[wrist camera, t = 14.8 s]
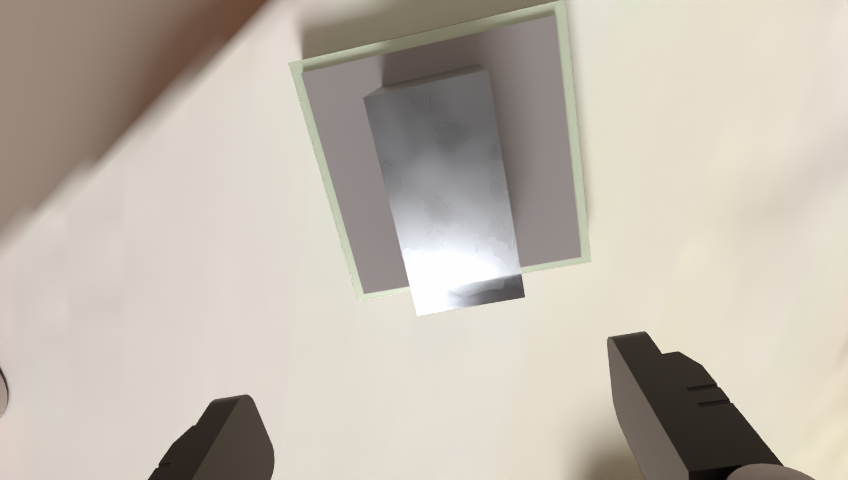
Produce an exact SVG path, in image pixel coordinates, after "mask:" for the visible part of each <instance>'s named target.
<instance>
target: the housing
mask: <svg viewBox="0 0 848 480" xmlns="http://www.w3.org/2000/svg"><path fill="white" fill-rule="evenodd" d="M363 100H364V104H365V108H366V112H367V116H368V120H369V124H370V128H371V132H372V136H373V140H374V144H375V148H376V152H377V156H378V160H379V164H380V168H381V172H382V176H383V180H384V184H385V188H386V192H387V196H388V200H389V204H390V208H391V212H392V216H393V220H394V224H395V228H396V232H397V236H398V239H399V243H400V247H401V251H402V255H403V259H404V263H405V267H406V271H407V275H408V279H409V283H410V287H411V291H412V295H413V299H414V303H415V307H416V311H417V315H422V314H428V313H434V312H440V311H446V310H452V309H458V308H464V307H470V306H476V305H482V304H488V303H494V302H500V301H506V300H512V299H518V298H524V297H525V294H524V288H523V282H522V276H521V270H520V263H519V257H518V251H517V245H516V239H515V232H514V226H513V220H512V214H511V208H510V201H509V195H508V189H507V183H506V176H505V170H504V164H503V158H502V152H501V145H500V139H499V133H498V127H497V121H496V114H495V108H494V102H493V96H492V90H491V83H490V77H489V71H488V69H487V68H485V67H483V66H481V65H480V64H478V65H473V66H469V67H464V68H460V69H455V70H451V71H447V72H442V73H438V74H433V75H429V76H424V77H420V78H415V79H411V80H407V81H402V82H398V83H393V84H389V85H384V86H381V87H379V88H378V89H376V90H375V91H373V92H371V93H370V94H368V95H366V96H365V97H363Z"/></svg>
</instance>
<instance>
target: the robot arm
mask: <svg viewBox="0 0 848 480" xmlns="http://www.w3.org/2000/svg"><path fill="white" fill-rule="evenodd" d="M607 348H608V358H609V367H610V377H611V387H612V396H613V403H614V407H615V411H616V415H617V418H618V421H619V424H620V426H621V429H622V431H623V433H624V435H625V437H626V439H627V442H628V444H629V446H630V448H631V450H632V452H633V454H634V457H635V459H636V461H637V463H638V465H639V467H640V469H641V472H642V474H643V476H644V478H645V480H815V479H813V478H812V477H810V476H808V475H806V474H804V473H802V472H799V471H797V470H794V469H791V468H788V467H784V466H783V464H782V463H781V462H780V461H779V460H778V458H777V457H776V456H775V455H774V453H773V452H772V451H771V450H770V449H769V447H768V446H767V445H766V444H765V442H764V441H763V440H762V439H761V437H760V436H759V435H758V434H757V433H756V431H755V430H754V429H753V428H752V426H751V425H750V424H749V423H748V421H747V420H746V419H745V418H744V416H743V415H742V414H741V413H740V412H739V410H738V409H737V408H736V407H735V405H734V404H733V403H730V401H729V398H728V397H727V396H726V394H725V393H724V392H723V391H722V389H721V388H720V387H718V386H717V383H716V382H715V381H714V380H713V378H712V377H711V376H710V375H709V373H708V372H707V371H706V370H705V368H704V367H703V366H702V365H701V364H699V363H697V362H696V361H694V360H692V359H691V358H689V357H687V356H686V355H684V354H682V353H680V352H679V351H678V352H672V353H665V354H662V353H661V352H660V350H659V349H658V347H657V346H656V345H655V343H654V342H653V340H652V339H651V338H650V336H649V335H648V334H647V333H646V332H645V331H644V332H638V333H631V334H625V335H619V336H613V337H608V340H607ZM6 406H7V390H6V386H5V382H4V380H3V378H2V376H1V374H0V417H1V416H2V415H3V413H4V412H5V409H6ZM273 470H274V450H273V446H272V443H271V441H270V439H269V436H268V434H267V431H266V429H265V427H264V424H263V422H262V419H261V417H260V415H259V412H258V410H257V407H256V405H255V403H254V400H253V399H252V398H251V397H250V396H249V395H240V396H233V397H227V398H221V399H215V400H213V401H212V402H211V403H210V404H209V406H208V407H207V409H206V410H205V412H204V413H203V415H202V416H201V418H200V419H199V421H198V422H197V424H196V425H194V426H192V427H191V428H189V429H188V430H187V431H186V432H185V433H184V434H183V435H182V436H181V437H180V438H179V439H177V440H176V441H175V442H174V443H173V444H172V445H171V447H170V448H169V450H168V451H167V453H166V454H165V455H164V457H163V458H162V460H161V461H160V463H159V467H158V468H156V469H155V470H154V472H153V473H152V474H151V476H150V477H149V479H148V480H270V479H271V477H272V474H273Z"/></svg>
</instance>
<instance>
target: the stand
mask: <svg viewBox="0 0 848 480" xmlns="http://www.w3.org/2000/svg"><path fill="white" fill-rule="evenodd" d="M478 64H480V65H481V66H483V67H485V68H487V69H488V71H489V77H490V83H491V90H492V96H493V102H494V108H495V114H496V121H497V127H498V133H499V139H500V145H501V152H502V158H503V164H504V170H505V176H506V183H507V189H508V195H509V201H510V208H511V214H512V220H513V226H514V232H515V239H516V245H517V251H518V257H519V263H520V270H521V274H523V273H529V272H534V271H540V270H546V269H552V268H558V267H564V266H570V265H576V264H582V263H588V262H591V255H590V245H589V235H588V225H587V215H586V205H585V195H584V185H583V175H582V165H581V154H580V144H579V134H578V124H577V114H576V104H575V94H574V84H573V74H572V64H571V54H570V44H569V34H568V24H567V14H566V4H565V0H559V1H554V2H550V3H546V4H541V5H537V6H533V7H528V8H524V9H520V10H515V11H511V12H507V13H502V14H498V15H494V16H490V17H485V18H481V19H477V20H472V21H468V22H464V23H459V24H455V25H451V26H446V27H442V28H438V29H433V30H429V31H425V32H420V33H416V34H412V35H407V36H403V37H399V38H395V39H390V40H386V41H382V42H377V43H373V44H369V45H364V46H360V47H356V48H351V49H347V50H343V51H338V52H334V53H330V54H325V55H321V56H317V57H312V58H308V59H304V60H300V61H295V62H291V63H289V67H290V70H291V73H292V77H293V80H294V84H295V87H296V91H297V94H298V97H299V101H300V104H301V108H302V111H303V115H304V118H305V121H306V125H307V128H308V132H309V135H310V139H311V142H312V145H313V149H314V152H315V156H316V159H317V163H318V166H319V169H320V173H321V176H322V180H323V183H324V187H325V190H326V193H327V197H328V200H329V204H330V207H331V211H332V214H333V217H334V221H335V224H336V228H337V231H338V235H339V238H340V242H341V245H342V248H343V252H344V255H345V259H346V262H347V266H348V269H349V272H350V276H351V279H352V283H353V286H354V290H355V293H356V296H357V300H358V301H363V300H369V299H375V298H381V297H387V296H393V295H399V294H404V293H410V292H412V291H411V287H410V283H409V279H408V275H407V271H406V267H405V263H404V259H403V255H402V251H401V247H400V243H399V239H398V236H397V232H396V228H395V224H394V220H393V216H392V212H391V208H390V204H389V200H388V196H387V192H386V188H385V184H384V180H383V176H382V172H381V168H380V164H379V160H378V156H377V152H376V148H375V144H374V140H373V136H372V132H371V128H370V124H369V120H368V116H367V112H366V108H365V104H364V100H363V97H365V96H366V95H368V94H370V93H371V92H373V91H375V90H376V89H378V88H379V87H381V86H384V85H389V84H393V83H398V82H402V81H407V80H411V79H415V78H420V77H424V76H429V75H433V74H438V73H442V72H447V71H451V70H455V69H460V68H464V67H469V66H473V65H478Z"/></svg>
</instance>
